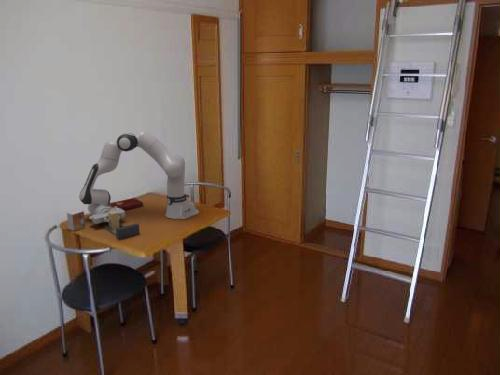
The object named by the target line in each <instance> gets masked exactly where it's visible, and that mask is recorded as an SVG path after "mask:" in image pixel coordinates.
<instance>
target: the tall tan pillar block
mask: <svg viewBox="0 0 500 375" xmlns="http://www.w3.org/2000/svg"><path fill="white" fill-rule="evenodd" d="M108 219H111V222H108V227H110V228H112V229H113V230H116V229H117V228H121V227H119V223H120V220H119V213H118V212H116V211H111V212H108Z"/></svg>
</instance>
